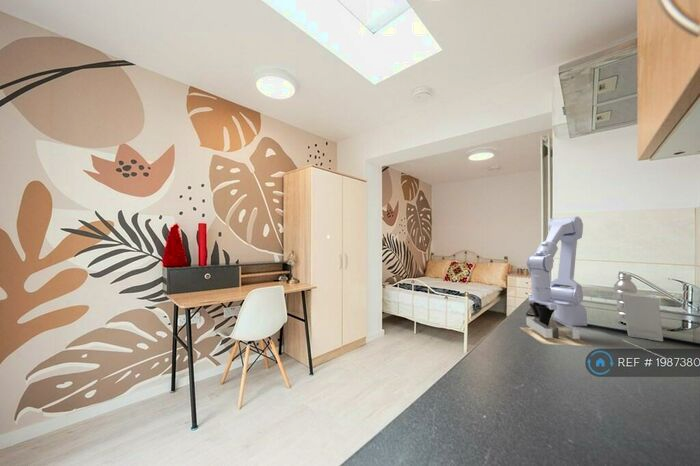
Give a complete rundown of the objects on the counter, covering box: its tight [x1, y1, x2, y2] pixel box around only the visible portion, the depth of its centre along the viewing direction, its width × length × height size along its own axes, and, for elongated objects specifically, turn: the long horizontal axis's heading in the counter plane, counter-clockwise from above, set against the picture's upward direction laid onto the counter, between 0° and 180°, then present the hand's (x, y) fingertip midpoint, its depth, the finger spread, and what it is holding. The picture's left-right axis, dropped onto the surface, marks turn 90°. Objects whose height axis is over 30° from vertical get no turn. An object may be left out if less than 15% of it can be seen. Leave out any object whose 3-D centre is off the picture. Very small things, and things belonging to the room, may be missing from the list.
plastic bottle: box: [613, 273, 638, 322], centre depth 102 cm, size 6×7×20 cm
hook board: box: [519, 327, 593, 347], centre depth 88 cm, size 14×16×5 cm
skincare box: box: [623, 293, 664, 342], centre depth 89 cm, size 8×6×15 cm
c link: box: [525, 316, 581, 340], centre depth 89 cm, size 10×12×3 cm
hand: (542, 324), depth 94 cm, fingers closed on c link, 2 cm apart
